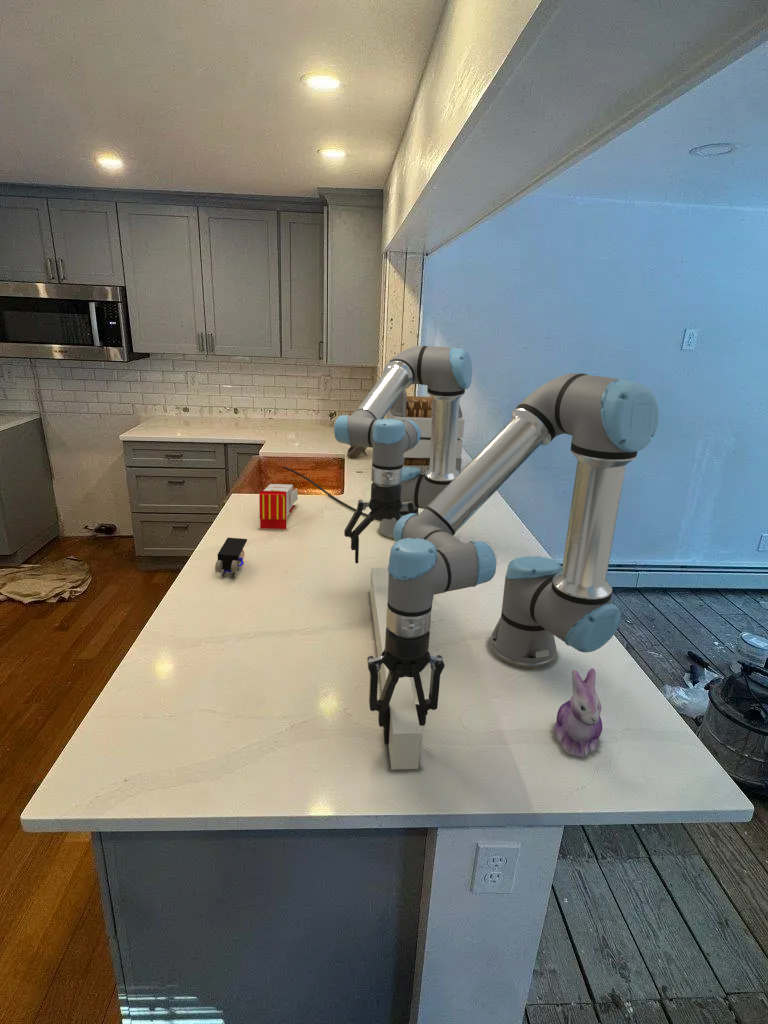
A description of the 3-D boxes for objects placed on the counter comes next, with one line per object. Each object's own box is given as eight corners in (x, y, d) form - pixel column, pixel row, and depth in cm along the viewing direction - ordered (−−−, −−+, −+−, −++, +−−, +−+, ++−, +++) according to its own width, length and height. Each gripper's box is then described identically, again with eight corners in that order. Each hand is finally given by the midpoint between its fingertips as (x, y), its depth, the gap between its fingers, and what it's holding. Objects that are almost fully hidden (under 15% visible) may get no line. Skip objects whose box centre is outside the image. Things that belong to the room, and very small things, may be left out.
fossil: (347, 441, 314) (368, 426, 309) (358, 454, 317) (379, 439, 312) (341, 455, 294) (363, 439, 289) (352, 469, 297) (375, 453, 292)
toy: (299, 479, 223) (289, 492, 194) (299, 512, 226) (289, 530, 197) (268, 478, 223) (253, 491, 193) (268, 512, 225) (254, 529, 196)
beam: (370, 593, 158) (371, 568, 155) (386, 593, 158) (388, 568, 155) (391, 769, 98) (393, 733, 95) (418, 769, 98) (421, 733, 95)
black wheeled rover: (238, 584, 162) (249, 557, 175) (236, 562, 158) (247, 536, 172) (215, 584, 161) (227, 556, 175) (212, 561, 158) (225, 535, 171)
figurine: (579, 767, 100) (594, 696, 95) (539, 730, 108) (551, 663, 103) (617, 750, 104) (633, 682, 99) (576, 716, 112) (588, 651, 107)
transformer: (382, 463, 289) (386, 382, 275) (445, 464, 293) (451, 384, 279) (390, 482, 257) (394, 392, 243) (460, 483, 261) (468, 394, 247)
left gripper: (335, 486, 135) (334, 567, 142) (438, 488, 138) (432, 567, 145) (335, 477, 142) (334, 554, 150) (433, 479, 145) (428, 555, 152)
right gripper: (356, 640, 92) (352, 754, 100) (464, 639, 93) (452, 752, 101) (354, 616, 99) (351, 725, 107) (455, 616, 100) (444, 723, 108)
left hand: (382, 561), depth 147 cm, fingers open, 13 cm apart
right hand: (400, 738), depth 104 cm, fingers closed on beam, 5 cm apart
